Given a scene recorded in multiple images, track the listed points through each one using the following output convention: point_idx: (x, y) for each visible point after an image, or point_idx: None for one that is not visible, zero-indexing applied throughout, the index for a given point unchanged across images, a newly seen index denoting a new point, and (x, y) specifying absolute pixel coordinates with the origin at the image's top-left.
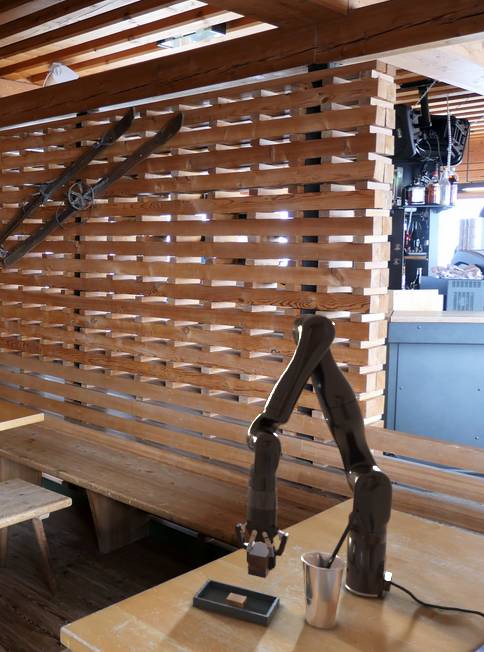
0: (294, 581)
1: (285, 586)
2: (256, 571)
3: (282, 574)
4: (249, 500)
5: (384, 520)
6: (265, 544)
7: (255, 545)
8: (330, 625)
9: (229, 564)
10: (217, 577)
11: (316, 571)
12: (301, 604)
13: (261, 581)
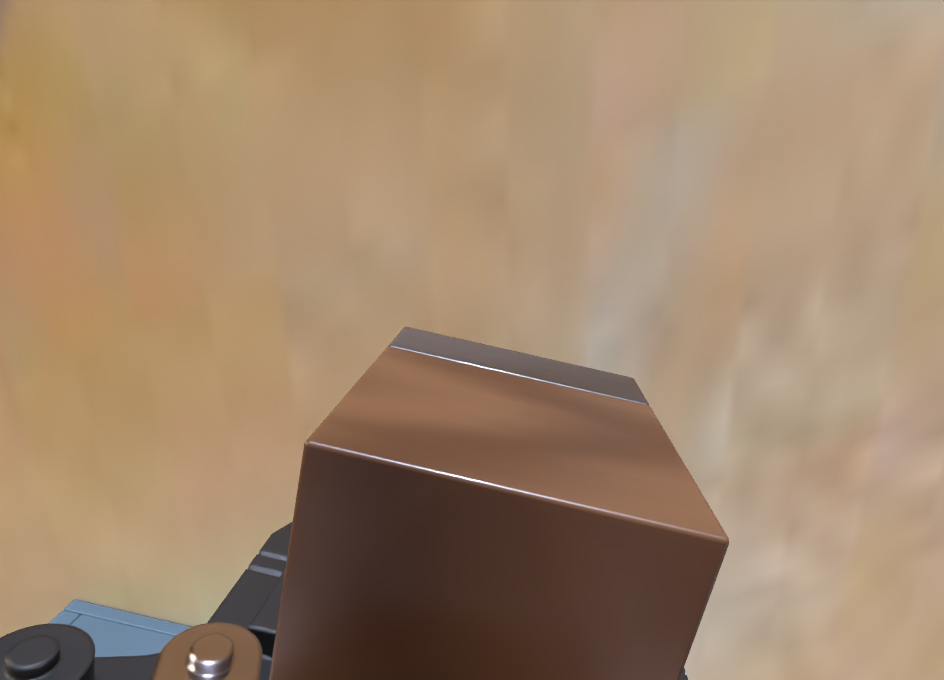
0: (822, 216)
1: (714, 368)
2: None
3: (711, 72)
4: None
5: None
6: (514, 538)
7: (292, 648)
8: None
9: (135, 18)
10: (97, 389)
11: None
12: (813, 661)
13: (487, 336)
